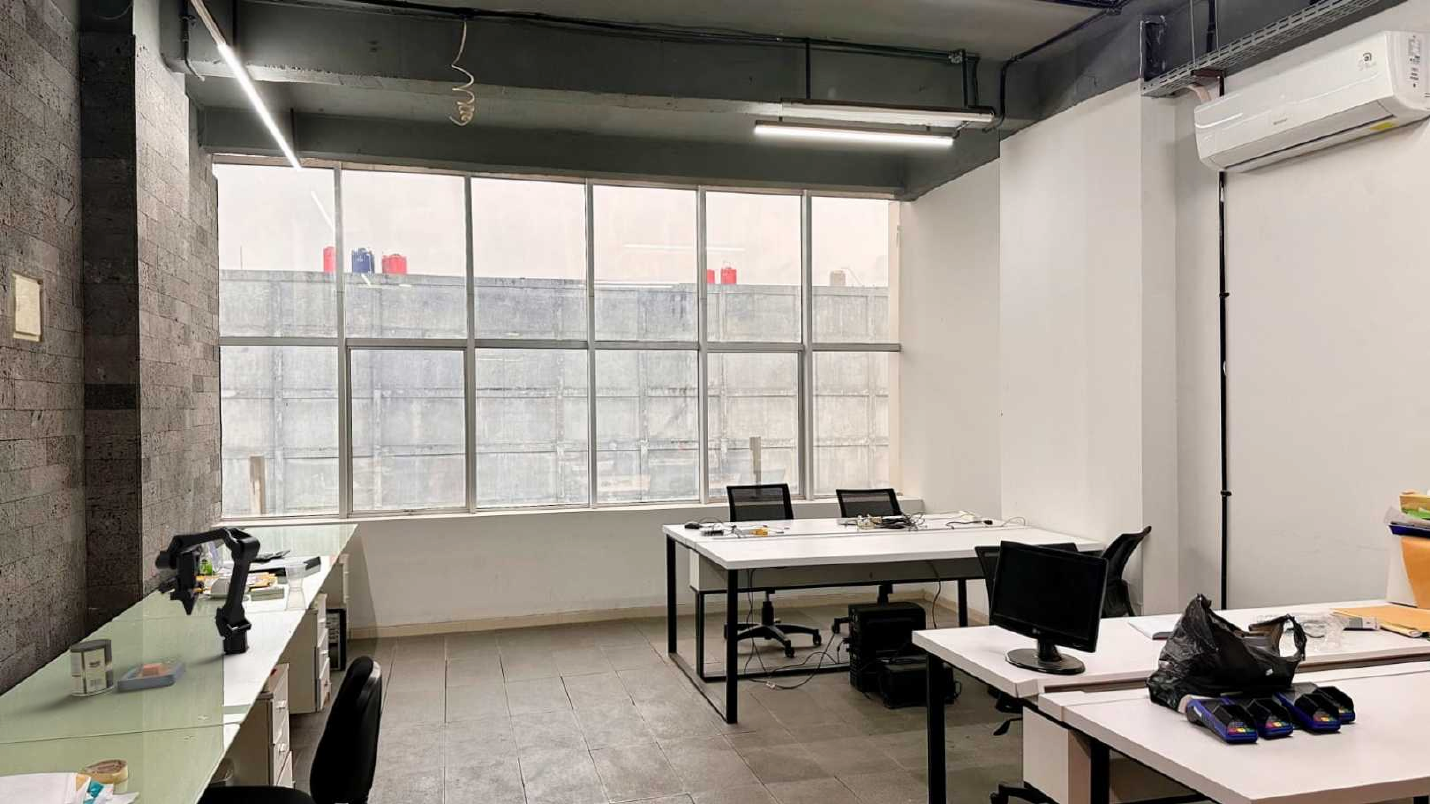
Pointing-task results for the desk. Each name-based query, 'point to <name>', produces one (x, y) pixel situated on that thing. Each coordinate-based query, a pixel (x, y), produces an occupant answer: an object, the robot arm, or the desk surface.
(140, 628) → the desk surface
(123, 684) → the dock
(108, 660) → the coffee can
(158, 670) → the salmon pink block
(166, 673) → the pallet
